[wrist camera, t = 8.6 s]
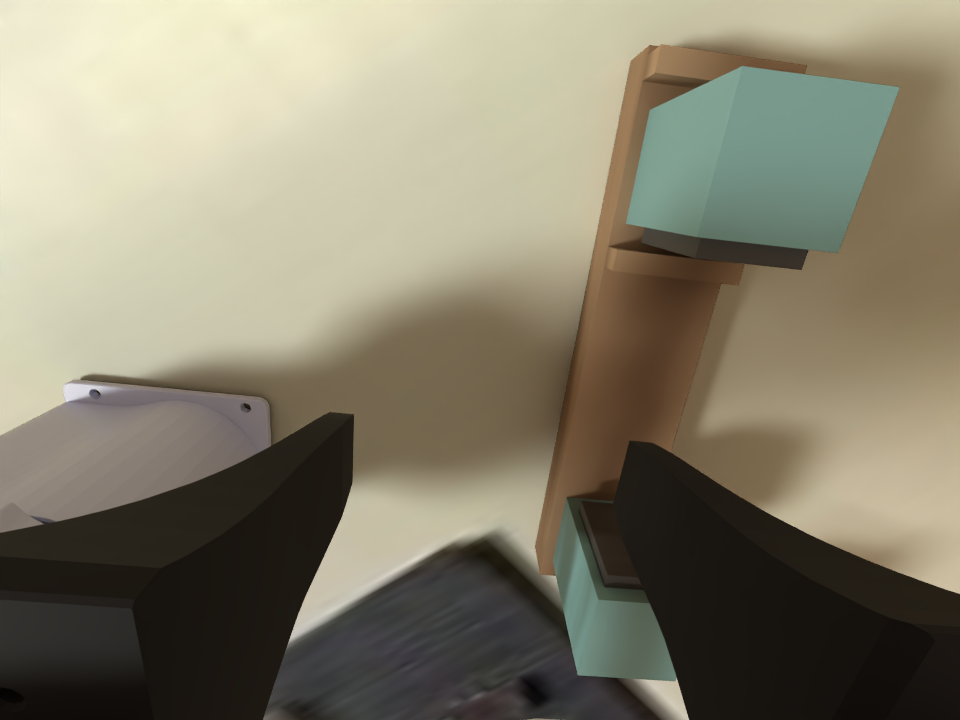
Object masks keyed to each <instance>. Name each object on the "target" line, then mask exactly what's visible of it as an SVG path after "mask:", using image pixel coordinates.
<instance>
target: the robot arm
mask: <svg viewBox="0 0 960 720" xmlns="http://www.w3.org/2000/svg"><path fill="white" fill-rule="evenodd" d="M96 390H98V391H99V392H100V394H101V395H99V394H98V393H97V392H96ZM63 393H64V397H65V403H63V404H61V405H59V406H57V407H55V408H53V409H51V410H49V411H48V412H46V413H44V414H42V415H40V416H38V417H36V418H34V419H32V420H30V421H28V422H26V423H24V424H22V425H20V426H18V427H16V428H14V429H12V430H10V431H8V432H6V433H5V434H3V435H1V436H0V720H263V717H264V714H265V711H266V708H267V705H268V702H269V698H270V695H271V692H272V689H273V686H274V683H275V680H276V677H277V674H278V671H279V668H280V665H281V662H282V659H283V656H284V653H285V650H286V647H287V645H288V642H289V639H290V636H291V633H292V630H293V627H294V624H295V621H296V619H297V616H298V613H299V611H300V608H301V606H302V603H303V601H304V598H305V596H306V594H307V592H308V589H309V587H310V585H311V583H312V581H313V579H314V576H315V574H316V572H317V570H318V568H319V566H320V564H321V561H322V559H323V557H324V555H325V553H326V551H327V548H328V546H329V544H330V542H331V540H332V538H333V535H334V533H335V531H336V529H337V527H338V524H339V522H340V520H341V518H342V515H343V512H344V509H345V505H346V502H347V499H348V496H349V492H350V489H351V485H352V478H353V430H354V415H353V414H343V413H332V412H329V413H327V414H325V415H323V416H322V417H320V418H318V419H316V420H315V421H313V422H311V423H310V424H308V425H306V426H305V427H303V428H301V429H300V430H298V431H296V432H295V433H293V434H291V435H290V436H288V437H286V438H284V439H283V440H281V441H279V442H278V443H276V444H274V445H272V446H271V428H270V408H269V404H268V402H267V401H266V400H265V399H263V398H261V397H255V396H245V395H234V394H224V393H213V392H203V391H192V390H181V389H171V388H160V387H150V386H139V385H129V384H118V383H108V382H97V381H87V380H72V381H70V382H68V383H66V384H65V385H64V386H63ZM244 403H246V404H248V405H249V406H250V407H251V409H250V410H249V409H247V408H245V407H244ZM613 508H614V512H615V516H616V520H617V524H618V527H619V530H620V534H621V537H622V540H623V543H624V545H625V548H626V550H627V552H628V555H629V557H630V559H631V562H632V564H633V567H634V569H635V571H636V573H637V576H638V578H639V580H640V583H641V585H642V587H643V589H644V592H645V594H646V596H647V599H648V601H649V603H650V605H651V608H652V610H653V612H654V615H655V617H656V619H657V622H658V624H659V627H660V629H661V632H662V634H663V637H664V640H665V643H666V646H667V649H668V652H669V655H670V658H671V661H672V664H673V667H674V671H675V674H676V677H677V680H678V683H679V686H680V690H681V693H682V697H683V700H684V703H685V707H686V710H687V714H688V717H689V720H960V594H958V593H955V592H951V591H948V590H945V589H942V588H939V587H936V586H933V585H931V584H928V583H925V582H923V581H920V580H917V579H914V578H912V577H909V576H906V575H904V574H901V573H898V572H895V571H893V570H890V569H888V568H885V567H883V566H880V565H878V564H875V563H873V562H870V561H867V560H865V559H863V558H860V557H858V556H856V555H853V554H851V553H849V552H847V551H844V550H842V549H840V548H837V547H835V546H833V545H830V544H828V543H826V542H824V541H822V540H820V539H817V538H815V537H813V536H811V535H809V534H807V533H805V532H803V531H801V530H799V529H797V528H795V527H793V526H791V525H789V524H787V523H785V522H783V521H781V520H780V519H778V518H776V517H774V516H772V515H770V514H768V513H767V512H765V511H763V510H761V509H759V508H758V507H756V506H754V505H753V504H751V503H749V502H748V501H746V500H744V499H743V498H741V497H739V496H737V495H736V494H734V493H733V492H731V491H729V490H728V489H726V488H724V487H723V486H721V485H720V484H718V483H717V482H715V481H713V480H712V479H710V478H709V477H707V476H706V475H704V474H703V473H701V472H700V471H698V470H697V469H695V468H694V467H692V466H690V465H689V464H687V463H686V462H684V461H683V460H681V459H680V458H678V457H677V456H675V455H673V454H672V453H670V452H669V451H667V450H665V449H664V448H662V447H660V446H658V445H656V444H654V443H651V442H641V441H630V440H629V444H628V448H627V452H626V456H625V460H624V463H623V467H622V471H621V475H620V479H619V483H618V486H617V490H616V494H615V498H614V502H613ZM529 720H553V719H529Z"/></svg>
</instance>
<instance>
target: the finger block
mask: <svg viewBox="0 0 960 720" xmlns="http://www.w3.org/2000/svg"><path fill="white" fill-rule="evenodd" d="M899 88H900V87H895V86H887V85H880V84H873V83H865V82H858V81H850V80H843V79H835V78H828V77H820V76H813V75H805V74H798V73H790V72H783V71H776V70H768V69H761V68H753V67H746V66H742V67H739V68H737V69H735V70H733V71H731V72H729V73H727V74H725V75H723V76H720V77H718V78H716V79H714V80H712V81H710V82H708V83H706V84H704V85H701V86H699V87H697V88H695V89H693V90H691V91H689V92H687V93H685V94H682V95H680V96H678V97H676V98H674V99H672V100H670V101H668V102H666V103H664V104H661V105H659V106H657V107H655V108H653V109H651V110H650V111H649V116H648V121H647V126H646V131H645V135H644V140H643V145H642V150H641V154H640V159H639V164H638V169H637V173H636V178H635V183H634V188H633V193H632V197H631V202H630V207H629V212H628V216H627V221H626V224H630V225H636V226H641V227H645V228H644V233H643V237H642V242H641V243H644V244H647V245H651V246H654V247H658V248H661V249H665V250H668V251H672V252H675V253H679V254H682V255H686V256H689V257H693V258H698V259H707V260H716V261H725V262H734V263H743V264H752V265H761V266H770V267H779V268H789V269H798V270H802V267H803V264H804V261H805V259H806V256H807V253H808V250H816V251H824V252H833V253H838V252H839V249H840V247H841V244H842V241H843V238H844V236H845V233H846V230H847V228H848V225H849V222H850V220H851V217H852V214H853V212H854V209H855V206H856V204H857V201H858V198H859V196H860V193H861V190H862V187H863V185H864V182H865V179H866V177H867V174H868V171H869V169H870V166H871V163H872V161H873V158H874V155H875V153H876V150H877V147H878V145H879V142H880V139H881V136H882V134H883V131H884V128H885V126H886V123H887V120H888V118H889V115H890V112H891V110H892V107H893V104H894V102H895V99H896V96H897V94H898V91H899Z"/></svg>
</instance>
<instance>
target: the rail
mask: <svg viewBox="0 0 960 720" xmlns="http://www.w3.org/2000/svg"><path fill="white" fill-rule="evenodd" d="M742 66H746V67H753V68H761V69H768V70H776V71H783V72H790V73H798V74H805V70H806V67H807V65H800V64H793V63H786V62H779V61H772V60H765V59H758V58H751V57H744V56H738V55H731V54H724V53H717V52H710V51H703V50H696V49H689V48H682V47H675V46H668V45H660V46H652V45H649V46H648V47H647V48H646V49H645V50H643V51H642V52H641V53H640V54H639V55H637V56H636V57H635V58H634V59H633V60H632V61H631V63H630V68H629V73H628V78H627V83H626V88H625V93H624V99H623V104H622V109H621V114H620V119H619V124H618V129H617V134H616V139H615V144H614V149H613V154H612V159H611V165H610V170H609V175H608V180H607V185H606V190H605V195H604V200H603V205H602V210H601V215H600V220H599V225H598V230H597V236H596V241H595V246H594V251H593V256H592V261H591V266H590V271H589V276H588V281H587V286H586V291H585V296H584V302H583V307H582V312H581V317H580V322H579V327H578V332H577V337H576V342H575V347H574V352H573V357H572V362H571V368H570V373H569V378H568V383H567V388H566V393H565V398H564V403H563V408H562V413H561V418H560V423H559V428H558V434H557V439H556V444H555V449H554V454H553V459H552V464H551V469H550V474H549V479H548V484H547V489H546V494H545V500H544V505H543V510H542V515H541V520H540V525H539V530H538V535H537V540H536V545H535V549H536V554H537V560H538V565H539V571H540V575H554V576H556V578H557V583H558V587H559V592H560V596H561V601H562V605H563V610H564V614H565V619H566V623H567V628H568V633H569V637H570V642H571V646H572V651H573V655H574V660H575V664H576V669H577V673H578V675H585V676H600V677H616V678H631V679H647V680H663V681H675V680H676V674H675V671H674V667H673V664H672V661H671V658H670V655H669V652H668V649H667V646H666V643H665V640H664V637H663V634H662V632H661V629H660V627H659V624H658V622H657V619H656V617H655V615H654V612H653V610H652V608H651V605H650V603H649V601H648V599H647V596H646V594H645V592H644V589H643V587H642V585H641V583H640V580H639V578H638V576H637V573H636V571H635V569H634V567H633V564H632V562H631V559H630V557H629V555H628V552H627V550H626V548H625V545H624V543H623V540H622V537H621V534H620V530H619V527H618V524H617V520H616V516H615V512H614V508H613V502H614V498H615V494H616V490H617V486H618V483H619V479H620V475H621V471H622V467H623V463H624V460H625V456H626V452H627V448H628V444H629V440H630V441H641V442H651V443H654V444H656V445H658V446H660V447H662V448H664V449H665V450H667V451H669V452H670V453H671V449H672V446H673V443H674V439H675V436H676V433H677V429H678V426H679V422H680V419H681V416H682V412H683V409H684V406H685V402H686V399H687V396H688V392H689V389H690V386H691V382H692V379H693V376H694V372H695V369H696V366H697V362H698V359H699V356H700V352H701V349H702V346H703V342H704V339H705V336H706V332H707V329H708V326H709V322H710V319H711V316H712V312H713V309H714V306H715V302H716V299H717V296H718V292H719V289H720V285H721V284H730V285H739V281H740V278H741V275H742V272H743V269H744V264H740V263H734V262H725V261H716V260H707V259H698V258H693V257H689V256H686V255H682V254H679V253H675V252H672V251H668V250H665V249H661V248H658V247H654V246H651V245H647V244H644V243H641V242H642V237H643V233H644V228H645V227H641V226H636V225H630V224H626V221H627V216H628V212H629V207H630V202H631V197H632V193H633V188H634V183H635V178H636V173H637V169H638V164H639V159H640V154H641V150H642V145H643V140H644V135H645V131H646V126H647V121H648V116H649V111H650V110H651V109H653V108H655V107H657V106H659V105H661V104H664V103H666V102H668V101H670V100H672V99H674V98H676V97H678V96H680V95H682V94H685V93H687V92H689V91H691V90H693V89H695V88H697V87H699V86H701V85H704V84H706V83H708V82H710V81H712V80H714V79H716V78H718V77H720V76H723V75H725V74H727V73H729V72H731V71H733V70H735V69H737V68H739V67H742Z"/></svg>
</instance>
